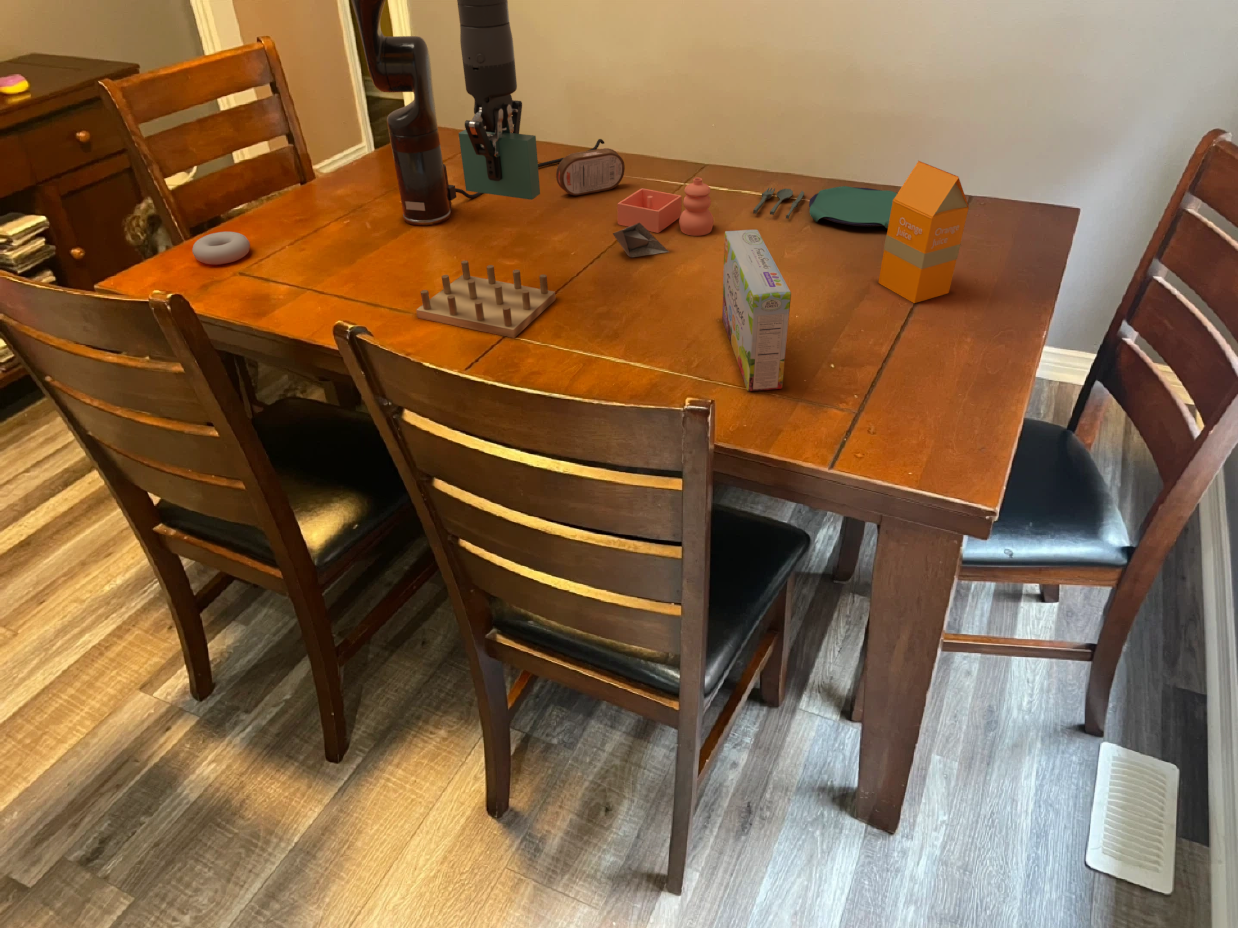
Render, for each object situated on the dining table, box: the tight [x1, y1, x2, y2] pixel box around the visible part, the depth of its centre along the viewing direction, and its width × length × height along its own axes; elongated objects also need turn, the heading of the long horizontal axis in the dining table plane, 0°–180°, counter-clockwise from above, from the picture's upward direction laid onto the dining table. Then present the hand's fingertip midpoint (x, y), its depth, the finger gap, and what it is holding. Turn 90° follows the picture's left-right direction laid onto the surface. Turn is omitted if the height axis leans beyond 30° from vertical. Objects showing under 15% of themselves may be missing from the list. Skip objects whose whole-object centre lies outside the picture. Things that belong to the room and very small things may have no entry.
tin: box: [555, 147, 626, 196], centre depth 180 cm, size 15×3×8 cm, turn 115°
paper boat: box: [612, 223, 670, 258], centre depth 154 cm, size 12×6×9 cm
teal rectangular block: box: [458, 128, 541, 201], centre depth 133 cm, size 3×12×9 cm, turn 67°
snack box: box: [721, 228, 792, 392], centre depth 123 cm, size 21×6×15 cm, turn 5°
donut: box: [191, 231, 251, 266], centre depth 158 cm, size 10×4×10 cm
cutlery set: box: [752, 185, 898, 229], centre depth 170 cm, size 20×30×2 cm, turn 69°
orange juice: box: [877, 160, 970, 304], centre depth 137 cm, size 8×9×20 cm
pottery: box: [616, 177, 714, 237], centre depth 164 cm, size 18×10×10 cm, turn 59°
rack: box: [415, 259, 556, 339], centre depth 139 cm, size 14×18×4 cm
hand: (500, 175), depth 134 cm, fingers closed on teal rectangular block, 3 cm apart
